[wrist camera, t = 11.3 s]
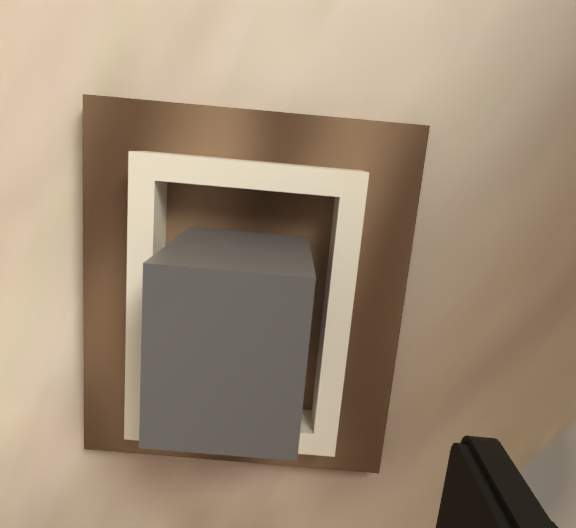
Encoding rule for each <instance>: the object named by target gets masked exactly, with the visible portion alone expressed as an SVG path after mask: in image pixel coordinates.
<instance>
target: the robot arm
mask: <svg viewBox="0 0 576 528" xmlns="http://www.w3.org/2000/svg"><path fill="white" fill-rule="evenodd" d="M436 528H558V527H557V526H556V525H555V524H554V522H552V521H551V520H550V519H549V517H548V516H547V514H546V513H545V511H544V509H543V508H542V507H541V505H540V503H539V502H538V501H537V499H536V497H535V496H534V494H533V492H532V491H531V489H530V488H529V486H528V485H527V483H526V482H525V480H524V479H523V477H522V476H521V474H520V472H519V471H518V469H517V468H516V466H515V465H514V463H513V462H512V460H511V459H510V457H509V456H508V454H507V452H506V451H505V449H504V448H503V446H502V445H501V443H500V442H499V441H498V440H497V439H495V438H485V437H474V436H465V437H463V439H462V441H461V443H454V444H453V445H452V447H451V451H450V456H449V461H448V467H447V472H446V477H445V482H444V488H443V493H442V498H441V504H440V509H439V514H438V519H437V525H436Z"/></svg>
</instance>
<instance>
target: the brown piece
mask: <svg viewBox="0 0 576 528" xmlns="http://www.w3.org/2000/svg"><path fill="white" fill-rule="evenodd" d="M429 127H430V126H426V125H415V124H404V123H393V122H382V121H371V120H360V119H349V118H338V117H327V116H316V115H305V114H294V113H283V112H272V111H261V110H250V109H239V108H228V107H217V106H206V105H195V104H184V103H173V102H162V101H151V100H140V99H129V98H118V97H107V96H96V95H85V94H83V253H84V449H92V450H105V451H117V452H129V453H141V454H153V455H165V456H177V457H189V458H201V459H214V460H226V461H238V462H250V463H262V464H274V465H286V466H298V467H310V468H323V469H335V470H347V471H359V472H371V473H379V469H380V462H381V456H382V449H383V442H384V435H385V428H386V421H387V414H388V408H389V401H390V394H391V387H392V380H393V373H394V367H395V360H396V353H397V346H398V339H399V332H400V325H401V319H402V312H403V305H404V298H405V291H406V284H407V278H408V271H409V264H410V257H411V250H412V243H413V236H414V230H415V223H416V216H417V209H418V202H419V195H420V189H421V182H422V175H423V168H424V161H425V154H426V147H427V141H428V134H429ZM191 226H193V227H204V228H216V229H227V230H239V231H250V232H262V233H273V234H285V235H296V236H308V238H309V243H310V248H311V254H312V259H313V265H314V270H315V276H316V282H315V292H314V302H313V311H312V321H311V331H310V341H309V351H308V360H307V370H306V380H305V390H304V399H303V409H302V419H301V429H300V438H299V448H298V458H297V461H289V460H277V459H264V458H252V457H240V456H228V455H215V454H203V453H191V452H179V451H166V450H154V449H142V448H139V420H140V374H141V329H142V284H143V263H144V262H145V261H146V260H148V259H149V258H150V257H151V256H153V255H154V254H155V253H157V252H158V251H159V250H161V249H162V248H163V247H165V246H166V245H167V244H168V243H170V242H171V241H172V240H174V239H175V238H176V237H178V236H179V235H180V234H182V233H183V232H184V231H185V230H187V229H188V228H189V227H191Z"/></svg>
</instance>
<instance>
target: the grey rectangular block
mask: <svg viewBox="0 0 576 528" xmlns="http://www.w3.org/2000/svg"><path fill="white" fill-rule="evenodd" d="M315 282H316V276H315V270H314V265H313V259H312V254H311V248H310V243H309V238H308V236H296V235H285V234H273V233H262V232H250V231H239V230H227V229H216V228H204V227H193V226H191V227H189V228H188V229H187V230H185V231H184V232H183V233H182V234H180V235H179V236H178V237H176V238H175V239H174V240H172V241H171V242H170V243H168V244H167V245H166V246H165V247H163V248H162V249H161V250H159V251H158V252H157V253H155V254H154V255H153V256H151V257H150V258H149V259H148V260H146V261H145V262H144V263H143V284H142V329H141V374H140V420H139V448H142V449H154V450H166V451H179V452H191V453H203V454H215V455H228V456H240V457H252V458H264V459H277V460H289V461H297V458H298V448H299V438H300V429H301V419H302V409H303V399H304V390H305V380H306V370H307V360H308V351H309V341H310V331H311V321H312V311H313V302H314V292H315Z"/></svg>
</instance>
